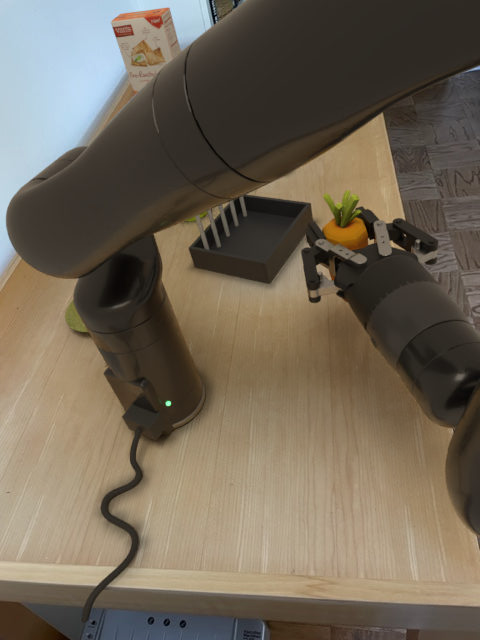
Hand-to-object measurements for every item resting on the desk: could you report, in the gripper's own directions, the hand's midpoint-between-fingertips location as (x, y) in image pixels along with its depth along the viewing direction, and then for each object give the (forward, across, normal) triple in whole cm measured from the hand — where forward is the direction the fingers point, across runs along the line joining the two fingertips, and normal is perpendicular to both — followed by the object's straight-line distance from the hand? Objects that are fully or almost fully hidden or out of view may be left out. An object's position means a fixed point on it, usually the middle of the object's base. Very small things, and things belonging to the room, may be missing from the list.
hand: (335, 221), depth 59 cm
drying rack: (+24, +6, +17) cm, 30 cm away
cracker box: (+100, +9, +17) cm, 102 cm away
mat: (+19, +32, +18) cm, 41 cm away
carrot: (-3, 0, +10) cm, 11 cm away
